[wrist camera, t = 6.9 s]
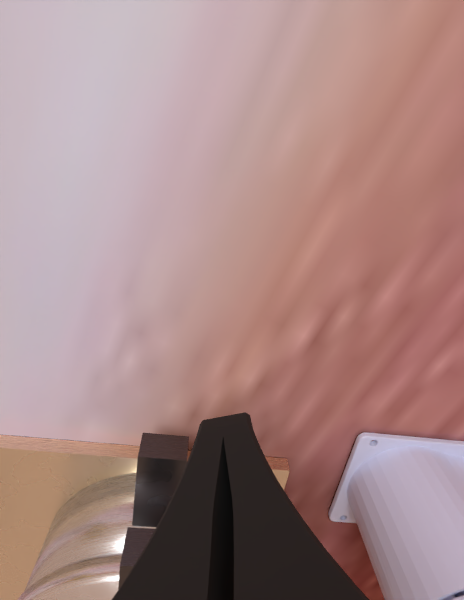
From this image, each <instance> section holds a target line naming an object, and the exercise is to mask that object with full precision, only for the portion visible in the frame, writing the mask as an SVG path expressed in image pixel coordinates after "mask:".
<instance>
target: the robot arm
mask: <svg viewBox="0 0 464 600" xmlns="http://www.w3.org/2000/svg"><path fill="white" fill-rule="evenodd" d="M372 440H374V441H372ZM328 515H329V518H330V520H331V521H334V522H347V523H357V525H358V528H359V531H360V533H361V536H362V539H363V542H364V544H365V547H366V550H367V553H368V555H369V558H370V561H371V564H372V566H373V569H374V572H375V575H376V577H377V580H378V583H379V586H380V588H381V591H382V594H383V597H384V599H385V600H464V441H454V440H443V439H432V438H421V437H410V436H400V435H389V434H378V433H367V432H365V433H361V434H360V435H358V437H357V439H356V441H355V444H354V446H353V449H352V452H351V454H350V457H349V460H348V462H347V465H346V468H345V470H344V473H343V475H342V478H341V481H340V483H339V486H338V489H337V491H336V494H335V497H334V499H333V502H332V505H331V507H330V510H329V513H328ZM112 600H369V599H368V598H367V597H366V596H365V595H364V594H363V592H362V591H361V590H360V589H359V588H358V587H357V586H356V585H355V584H354V582H353V581H352V580H351V579H350V578H349V577H348V575H347V574H346V573H345V572H344V571H343V569H342V568H341V567H340V566H339V565H338V563H337V562H336V561H335V560H334V559H333V558H332V556H331V555H330V554H329V553H328V552H327V550H326V549H325V548H324V547H323V545H322V544H321V543H320V541H319V540H318V539H317V537H316V536H315V535H314V534H313V532H312V531H311V530H310V528H309V527H308V525H307V524H306V523H305V521H304V520H303V518H302V517H301V516H300V514H299V513H298V511H297V510H296V508H295V507H294V505H293V504H292V502H291V501H290V499H289V498H288V496H287V495H286V493H285V491H284V490H283V488H282V487H281V485H280V483H279V482H278V480H277V478H276V476H275V475H274V473H273V471H272V469H271V467H270V466H269V464H268V462H267V460H266V458H265V456H264V454H263V452H262V450H261V448H260V446H259V443H258V441H257V439H256V436H255V433H254V431H253V427H252V423H251V418H250V415H249V414H247V413H240V414H235V415H229V416H224V417H218V418H213V419H207V420H203V421H202V422H201V424H200V426H199V430H198V433H197V436H196V439H195V442H194V445H193V448H192V451H191V453H190V456H189V458H188V461H187V463H186V466H185V468H184V471H183V473H182V475H181V478H180V480H179V482H178V485H177V487H176V489H175V491H174V493H173V495H172V497H171V499H170V502H169V504H168V506H167V508H166V510H165V512H164V514H163V516H162V518H161V520H160V522H159V523H158V525H157V527H156V529H155V531H154V533H153V535H152V536H151V538H150V540H149V542H148V543H147V545H146V547H145V548H144V550H143V552H142V554H141V555H140V557H139V558H138V560H137V562H136V563H135V565H134V566H133V568H132V569H131V571H130V573H129V574H128V576H127V577H126V579H125V580H124V582H123V584H122V585H121V587H120V588H119V590H118V591H117V593H116V594H115V596H114V597H113V598H112Z"/></svg>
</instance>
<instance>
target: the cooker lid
mask: <svg viewBox="0 0 464 600" xmlns="http://www.w3.org/2000/svg"><path fill="white" fill-rule="evenodd" d="M154 531H155V529H152V528H135V527H128V528H127V533H126V538H125V543H124V548H123V552H122V556H111V557H105V558H98V559H92V560H88V561H84V562H80V563H77V564H73V565H70V566H68V567H65V568H62V569H59V570H57V571H55V572H53V573H51V574H49V575H47V576H45V577H43V578H42V579H40V580H39V581H37V582H36V583H34V584H33V585H31V586H30V587H29V588H28V589H27V590H26V591H24V592H23V593H22V594H21V595H20V597H19V598H18V599H17V600H112V598H113V597H114V596H115V594H116V593H117V591H118V590H119V588H120V587H121V585H122V584H123V582H124V580H125V579H126V577H127V576H128V574H129V573H130V571H131V569H132V568H133V566H134V565H135V563H136V562H137V560H138V558H139V557H140V555H141V554H142V552H143V550H144V548H145V547H146V545H147V543H148V542H149V540H150V538H151V536H152V535H153V533H154Z"/></svg>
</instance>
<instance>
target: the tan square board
mask: <svg viewBox="0 0 464 600" xmlns="http://www.w3.org/2000/svg"><path fill="white" fill-rule="evenodd" d="M188 441H189V437H185V436H174V435H162V434H151V433H143V435H142V440H141V444H140V446H130V445H118V444H106V443H94V442H82V441H70V440H58V439H46V438H34V437H21V436H9V435H0V600H17V599H18V598H19V597H20V595H21V594H22V593H23V592H24V591H26V590H27V589H28V588H29V587H30V586H31V585H33V584H34V583H36V582H37V581H39V580H40V579H42V578H43V577H45V576H47V575H49V574H51V573H53V572H55V571H57V570H59V569H62V568H65V567H68V566H70V565H73V564H77V563H80V562H84V561H88V560H92V559H98V558H105V557H111V556H122V552H123V548H124V543H125V538H126V533H127V528H128V527H135V528H152V529H156V527H157V525H158V523H159V522H160V520H161V518H162V516H163V514H164V512H165V510H166V508H167V506H168V504H169V502H170V499H171V497H172V495H173V493H174V491H175V489H176V487H177V485H178V482H179V480H180V478H181V475H182V473H183V471H184V468H185V466H186V463H187V461H188V458H189V456H190V453H191V450H188ZM265 458H266V460H267V462H268V464H269V466H270V467H271V469H272V471H273V473H274V475H275V476H276V478H277V480H278V482H279V483H280V485H281V487H282V488H283V490H284V488H285V485H286V482H287V478H288V475H289V472H290V469H289V465H288V461H287V458H275V457H265Z"/></svg>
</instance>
